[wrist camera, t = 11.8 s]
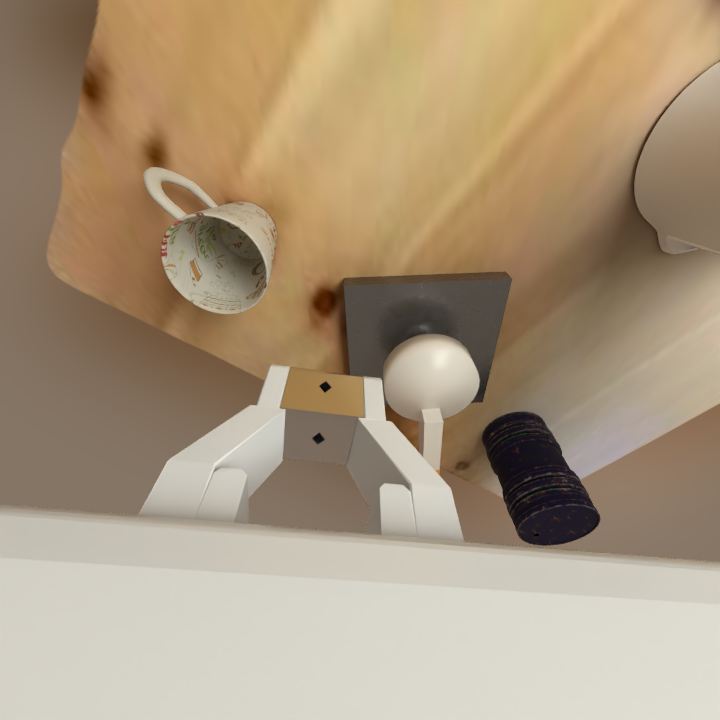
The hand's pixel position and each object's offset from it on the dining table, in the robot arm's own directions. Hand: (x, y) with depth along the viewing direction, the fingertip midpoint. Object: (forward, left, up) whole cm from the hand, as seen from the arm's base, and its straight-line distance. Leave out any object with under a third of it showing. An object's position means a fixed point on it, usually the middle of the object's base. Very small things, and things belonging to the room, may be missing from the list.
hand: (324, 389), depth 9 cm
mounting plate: (-8, +18, -29) cm, 35 cm away
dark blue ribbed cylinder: (-24, +36, -29) cm, 52 cm away
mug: (+12, +2, -29) cm, 32 cm away
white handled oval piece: (-8, +22, -23) cm, 33 cm away
